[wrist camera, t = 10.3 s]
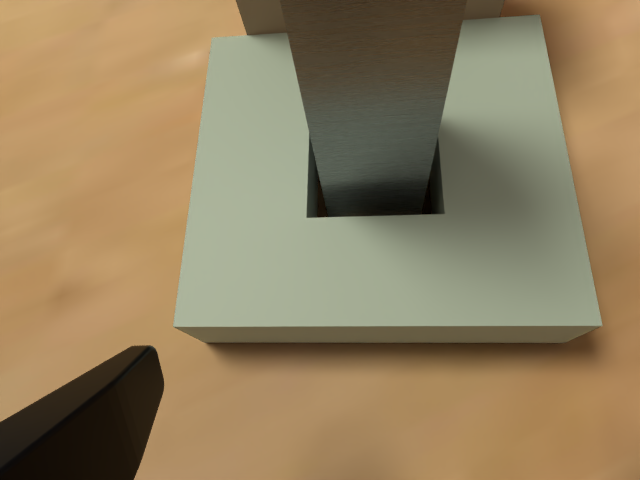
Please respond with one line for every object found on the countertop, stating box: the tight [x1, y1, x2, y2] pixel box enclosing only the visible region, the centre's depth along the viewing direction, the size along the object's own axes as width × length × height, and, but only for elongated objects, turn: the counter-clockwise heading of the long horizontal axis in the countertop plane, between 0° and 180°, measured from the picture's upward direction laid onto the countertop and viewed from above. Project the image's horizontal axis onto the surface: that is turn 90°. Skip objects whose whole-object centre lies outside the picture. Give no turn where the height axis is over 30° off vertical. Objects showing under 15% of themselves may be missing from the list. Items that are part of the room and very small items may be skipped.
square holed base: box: [173, 0, 602, 343], centre depth 16 cm, size 17×13×9 cm
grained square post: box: [280, 0, 467, 217], centre depth 13 cm, size 3×3×15 cm
